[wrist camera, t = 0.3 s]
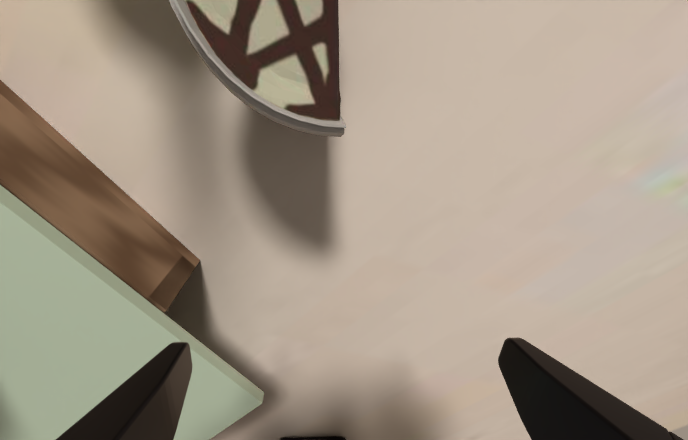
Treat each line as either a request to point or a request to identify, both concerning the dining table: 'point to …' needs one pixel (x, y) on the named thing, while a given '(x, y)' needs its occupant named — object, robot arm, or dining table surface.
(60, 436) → the robot arm
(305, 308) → the dining table surface
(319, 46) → the food container
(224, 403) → the lid
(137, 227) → the walnut box
